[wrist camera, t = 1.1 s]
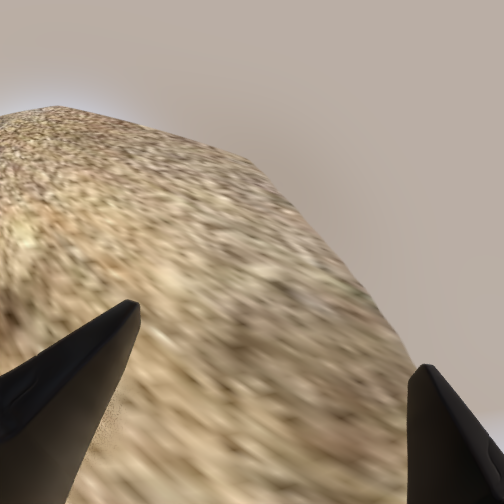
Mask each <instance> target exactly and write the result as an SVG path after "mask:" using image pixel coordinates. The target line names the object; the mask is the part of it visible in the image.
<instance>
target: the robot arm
mask: <svg viewBox="0 0 504 504" xmlns="http://www.w3.org/2000/svg"><path fill="white" fill-rule="evenodd" d="M140 325H141V315H140V304H139V303H138V302H135V301H132V300H128V299H127V300H124V301H123V302H121V303H119V304H118V305H116V306H114V307H113V308H111V309H109V310H108V311H106V312H104V313H103V314H101V315H100V316H98V317H96V318H95V319H93V320H91V321H90V322H88V323H87V324H85V325H83V326H82V327H80V328H79V329H77V330H75V331H74V332H72V333H71V334H69V335H67V336H66V337H64V338H63V339H61V340H59V341H58V342H56V343H55V344H53V345H51V346H50V347H48V348H47V349H45V350H44V351H42V352H40V353H39V354H38V355H37V356H34V357H32V358H31V359H29V360H28V361H26V362H24V363H23V364H21V365H19V366H18V367H16V368H14V369H13V370H11V371H9V372H7V373H5V374H3V375H1V376H0V504H65V502H66V499H67V497H68V494H69V492H70V490H71V487H72V485H73V482H74V479H75V477H76V475H77V472H78V470H79V468H80V465H81V463H82V461H83V458H84V456H85V454H86V452H87V449H88V447H89V445H90V443H91V440H92V438H93V436H94V434H95V432H96V429H97V427H98V425H99V423H100V421H101V419H102V416H103V414H104V412H105V410H106V408H107V406H108V404H109V402H110V399H111V397H112V395H113V393H114V391H115V389H116V387H117V385H118V383H119V381H120V379H121V377H122V375H123V372H124V370H125V368H126V365H127V362H128V359H129V356H130V354H131V351H132V348H133V345H134V343H135V340H136V337H137V335H138V332H139V329H140ZM407 453H408V483H407V504H504V454H503V453H502V451H501V450H500V449H499V447H498V446H497V445H496V444H495V442H494V441H493V439H492V438H491V437H489V434H488V433H487V432H486V430H485V429H484V428H483V426H482V425H481V424H480V422H479V421H478V420H477V418H476V417H475V416H474V415H473V413H472V412H471V411H470V410H469V408H468V407H467V406H466V404H465V403H464V402H463V401H462V399H461V398H460V397H459V396H458V394H457V393H456V392H455V391H454V390H453V388H452V387H451V386H450V385H449V383H448V382H447V381H446V380H445V378H444V377H443V376H442V375H441V374H440V372H439V371H438V370H437V369H436V368H435V366H433V365H430V364H422V365H421V366H420V367H419V368H418V369H417V370H416V371H415V373H414V374H413V375H412V376H411V377H410V379H409V381H408V397H407Z"/></svg>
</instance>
